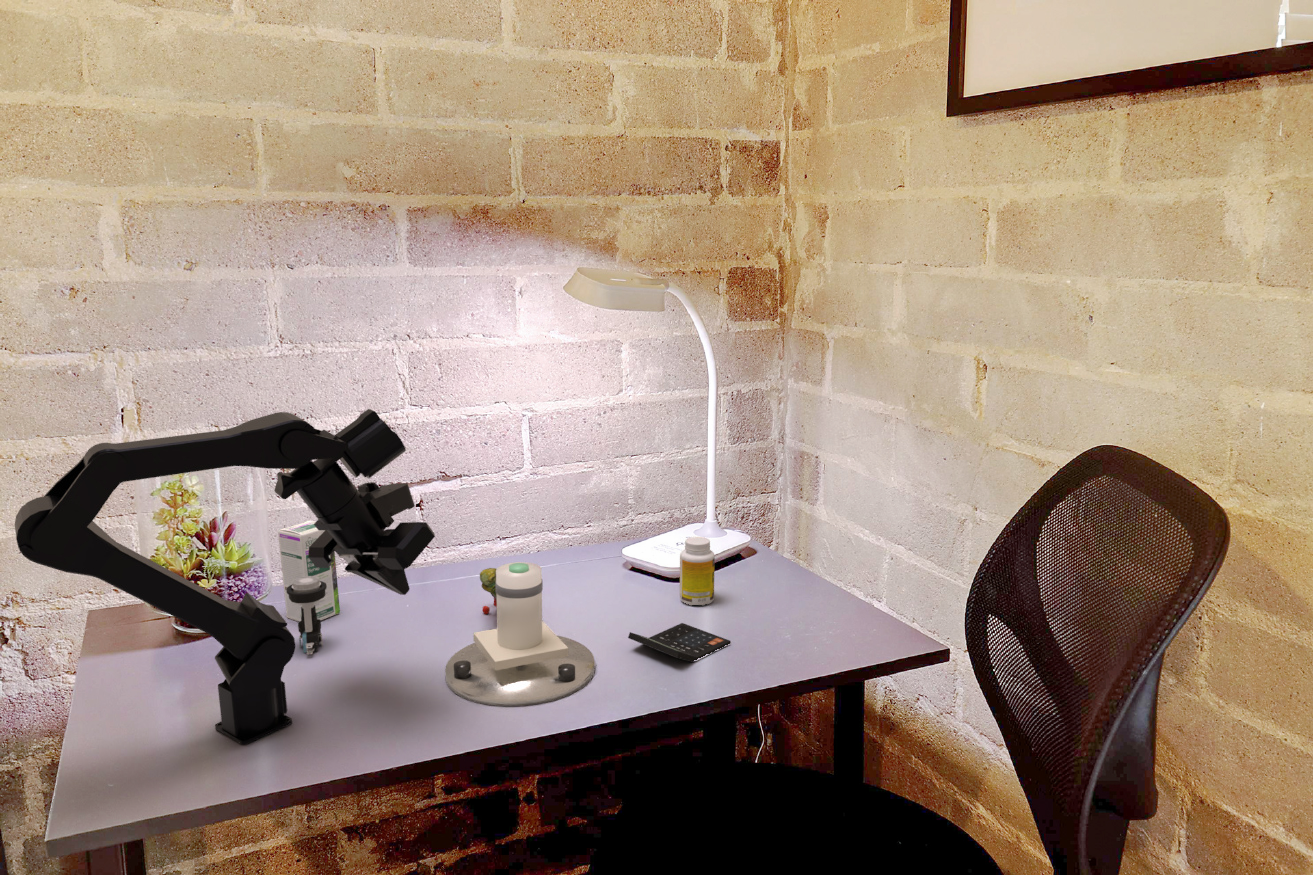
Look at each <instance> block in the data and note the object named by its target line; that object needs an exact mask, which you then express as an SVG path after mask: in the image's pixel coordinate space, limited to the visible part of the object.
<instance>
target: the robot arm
mask: <svg viewBox="0 0 1313 875" xmlns="http://www.w3.org/2000/svg"><path fill="white" fill-rule="evenodd" d="M406 451H407V450H406V446H405V444H404V442H403V441H402V439H401V438H400V437H399V435H398V433H397V432H395V431H393V430H392V428H390V426H389V425H388V424H387V423H386V422H385V421H384V420H383V419H382V418H380V416H379V415H378V413H377V412H376V411H375V410H373V409H371V408H367V409H365V411H364V412H362V413H361V414H359V416H357V418H355V420H354V421H352V422H351V423H349V424H348V425H347V426H345V427H344V428H343V429H341V430H340V431H338V432H337V433H336V434H332V433H331V432H329V431H328V430H326V429H317V428H315V427H314V426H313V425H312V424H310V423H309V422H308V421H306V420H304V419H302V417H300V416H297V415H296V414H293V413H291V412H288V411H287V412H286V411H279V412H274V413H271V414H267V415H263V416H261V417H257V418H253V419H250V420H248V421H246V422H243V423H241V424H239V425H235V426H234V427H231V428H230V427H229V428H227V429H223V430H215V431H206V432H205V431H204V432H200V433H191V434H182V435H173V436H164V437H156V438H149V439H141V440H134V441H125V442H118V443H117V442H116V443H113V442H112V443H111V442H101V443H96V444H95V445H93V446H91V447H90V448H88V450H87V451H86V452H85V454H84V456H83V457H82V458H81V459H80V460H79V461H78V462H77V463H76V464H75V465H74V466H73V467H72V468H70V470H68V471H67V472H66V473H65V474H64V475H62V477H60V478H59V479H58V480H57V481H56V482H55V483H54V485H53V486H51V487H50V489H49V490H48V491H47V492H46V493H45V494H44V495H43V496H40V497H35V498H33V499H31V500H29V501H27V502H26V503H25V504H24V505H23V506H22V507H20V509H19V510H18V512H17V514H16V515H15V519H14V520H15V521H14V531H15V538H16V539H15V540H16V545H17V548H18V550H19V552H20V553H21V554H22V556H23V557H25V558H26V559H27V560H28V561H30V562H33V563H35V564H38V565H40V566H41V565H42V566H44V567H47V568H51V569H53V570H58V571H60V572H64V573H69V574H74V575H81V576H87V577H93V578H96V579H99V580H101V581H103V582H105V583H107V584H109V585H110V586H112V587H115V588H116V589H119V590H121V591H122V592H125V593H126V594H129V595H131V596H132V597H135V598H137V599H139V600H140V601H143V602H145V603H146V604H148V605H150V606H153V607H154V608H156V609H158V610H160V611H162V612H164V613H166V614H168V615H170V616H172V617H174V618H175V619H178V620H180V621H182V622H184V623H187V624H188V625H190V626H192V627H194V628H196V629H197V630H200V631H202V632H203V633H205V634H208V635H210V637H212V638H214V639H215V640H216V642H218V643H219V644H220V645H221V646H222V648H221V649H220V650H219V651H218V652H217V653H216V655H215V656H214V660H215V662H216V664H217V665H218V667H219V670H220V671H221V673H222V674H223V677H224V678H225V679H224V681H223V682H220V683H219V684H217V692H218V699H219V700H218V703H219V708H220V709H219V710H220V720H221V721H219V722H217V723H215V724H214V729H215V730H217V731H218V732H220V733H222V734H223V735H225V736H227V738H230V739H232V740H233V741H235V742H237V743H239V744H240V745H247V744H249V743H251V742H254V741H256V740H258V739H261V738H263V737H265V736H267V735H269V734H272V733H274V732H276V731H278V730H280V729H282V728H286V727H287V726H289V725H292V723H293V718H291V717H290V716H288V715H286V714H287V712H288V705H287V704H288V702H287V695H286V694H287V693H286V682H284V681H282V676H283V672H284V669H285V666H286V665H287V664H288V663H289V662H291V660H292V658H293V656H294V654H295V650H296V642H295V641H296V640H295V637H294V636H293V634H292V633H291V631H290V629H289V628H288V627H287V626H288V622H287V621H286V620H285V619H284V617H283V616H282V615H281V614H280V612H279V611H278V609H276V607H275V606H274V605H270V604H265V603H262V602H260V600H258V599H257V598H255V597H254V596H253V595H251V594H250V593H249V592H246V593H245V594H244V596H243V598H242V600H241V601H235V600H228V599H225V598H222V597H220V596H219V595H217V594H215V593H214V592H211V591H209V590H207V589H206V588H204V587H202V586H201V585H200V586H199V585H198V584H197V583H194V582H193V581H191V580H189V579H186V578H185V577H183V576H181V575H179V574H178V573H176V572H174V571H171V570H170V569H169V568H166V567H164V566H163V565H160V564H158V563H157V562H156V561H153V560H151V559H150V558H147V557H146V556H144V555H142V554H140V553H138V552H137V551H135V550H132V549H130V548H129V547H127V546H125V545H123V544H122V543H119V542H117V541H116V540H115V539H113V537H111V536H110V535H109V533H106V531H105V530H103V529H102V528H101V527H100V526H99V525H98V524H96V522H95V521H94V520H95V518H96V517H97V515H98V514H99V512H100V511H101V510H102V509H103V507H104V506H105V503H106V502H107V501H108V499H109V498H110V496H112V494H113V492H115V490H116V489H117V488H118V487H119V486H120V484H122V483H126V482H133V481H139V480H146V479H153V478H160V477H167V476H168V477H169V476H175V475H181V474H187V473H195V472H202V471H210V470H214V469H223V468H231V467H248V468H249V467H250V468H258V469H259V468H261V469H268V470H269V469H270V470H271V469H280V470H282V469H283V470H289V469H290V470H291V471H290V472H289V471H288V472H281V471H278V472H277V473H276V477H277V480H276V484H275V487H274V489H273V490H274V493H275V494H276V495H278V496H279V498H281V499H283V500H286V499H288V498H290V497H291V496H292V495H294V494H295V493H297V494H298V495H299V497H300V498H301V499H302V500H303V502H304V503H305V505H307V507H308V508H309V509H310V511H311V512H312V514H313V515H315V517H316V518H317V520H316V522H315V524H314V525H315V527H316V528H317V529H318V530H325V531H324V532H323V533H322V534H321V535H320V536H319V537H318V538H317V540H316V541H315V542H314V543H313V544H312V545H311V546H310V547H309V555H308V558H309V559H310V560H311V561H312V563H313V564H314V565H315V566H316V567H317V568H329V567H330V566H331V559H330V558H329V557H328V556H329V555H330V554H331V553H332V552H333V551H335V554H336V555H338V557H339V558H340V559H343V560H344V561H345V562H346V566H345V567H344V571H346V573H351V574H354V575H356V576H359V577H361V578H364V579H366V580H368V581H370V582H372V583H375V584H377V585H379V586H381V587H384V588H385V589H387V590H390V591H392V592H394V593H397V594H398V595H400V596H401V595H402V596H403V595H404V596H405V595H406V594H408V593H409V592H410V585H409V582H408V578H407V575H406V571H405V570H406V569H407V568H409V567H411V566H412V565H413V563H414V562H415V561H416V559H418V557H419V556H420V555H421V554H422V553H423V551H424V550H425V549H426V548H427V546H428V545H429V544H430V543H431V542H432V541H433V539H435V538H436V535H435V532H434V531H433V529H432V528H431V527H430V526H429V524H428V522H420V521H418V522H417V521H415V522H409V521H407V522H406V521H405V522H400V523H398V525H397V526H396V527H395V528H390V527H391V525H393V523H394V522H395V519H394V518H393V516H396V515H398V514H400V513H402V512H404V511H406V510H411V509H413V508H415V502H414V499H413V496H412V493H411V490H410V486H409V483H407V482H405V483H400V482H399V483H389V484H385V485H380V486H379V485H378V484H377V483H376V482H375V481H373V482H364V483H362V484H360V485H358V487H356V486H355V485H354V483H353V482H352V481H351V479H350V478H349V476H348V475H347V474H346V472H345V470H344V469H343V468H342V467H341V466H340V465H339V463H338V461H340V462H341V464H343V466H344V467H345V468H346V469H347V470H348V472H349V473H350V474H351V475H352V476H353V477H355V478H359V477H360V476H362V477H364V478H367V479H371V478H372V477H373V476H375V475H376V474H377V473H378V472H380V471H381V470H383V469H384V468H386V467H387V466H388V465H389V464H391V463H392V462H393V461H394V460H396V459H397V458H398V457H400V456H401V455H402V454H403V453H406ZM313 460H314V461H313Z"/></svg>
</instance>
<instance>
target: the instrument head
mask: <svg viewBox="0 0 1313 875" xmlns="http://www.w3.org/2000/svg"><path fill="white" fill-rule="evenodd" d="M495 584H496V595H497V607H496V628H494V629H487V630H482V631H477V632H473V643H476V645H477V646H478V648H479V649H480V650H481V652H482V653H483V654H484V656H485V657H486V658H487V660H488V661H489V663H490V664H491V665H492V667H493V668H494V669H495V671H496V670H501V669H506V668H511V667H516V666H521V665H526V664H531V663H537V662H542V661H547V660H552V659H557V658H562V657H567V656H568V647H567V646H566V645H565V644H564V643H563V642H562V641H561V640H560V639H559V638H558V637H557V636H558V635H557V634H556V633H555V632H554V631H553V630H552V629H551V627H549V626H548V624H546V623H545V621H544V620H543V587H544V586H543V574H542V567H541V566H540V565H539V564H536V563H532V562H526V561H525V562H524V561H518V562H516V561H515V562H510V563H506V564H505V563H504V564H502V565H500V566H498V567H497V568H496V582H495Z"/></svg>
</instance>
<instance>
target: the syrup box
mask: <svg viewBox="0 0 1313 875" xmlns="http://www.w3.org/2000/svg"><path fill="white" fill-rule="evenodd" d="M316 521H317V520H316ZM316 521H315V520H310V519H309V520H307V521H305V522H301V523H299V524H295V525H292V526H289V527H288V526H287V527H285V528H281V529H279V530H277V536H278V545H279V554H280V565H281V572H282V582H283V592H284V601H285V602H284V603H285V611H286V614H285V615H286V617H287V619H290V620H292V621H295V622H298V621H299V622H300V621H301V616H302V613H301V607H302V605H299V604H296V603H294V602H291V600H290V599H289V594H287V590H286V589H287V587H289V586H290V585H292V584H293V581H294V580H295V579H297V578H300V577H304V576H315V577H318V578H319V581H322V582H325V583H326V586H327V588H326V589H325V596H324V598H322V599H320V600H319V601H318V602H316V603H314V605H315V609H316V613H317V619H320V620H321V621H323V620H325V619H328V618H330V617H332V616H335V615H339V614H340V613H341V607H340V598H339V587H338V575H337V563H336V552H335V551H333V552H332V553H331V554H330V555H329V556H328V557H329V558H330V559H331V566H330V567H329V568H317V567H316V566H315V565H314V564H313V563H312V561H311V560H310V559H309V558H308V555H309V547H310V546H311V545H312V544H313V543H314V542H315V541H316V540H317V538H318V537H319V536H320V535H321V534H322V533H323V532H324V531H325V530H318V529H317V528H316V527H315V525H314V524H315V522H316ZM299 622H298V623H299Z"/></svg>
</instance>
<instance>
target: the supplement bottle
mask: <svg viewBox="0 0 1313 875" xmlns="http://www.w3.org/2000/svg"><path fill="white" fill-rule="evenodd" d="M715 560H716V559H715V552H714V551H713V550H712V549H711V541H710V539H709V538H707V537H705V536H704V537H703V536H691V537H687V538H686V539H685V542H684V549H683V550H682V551H681V552H680V554H679V599H680V601H681V602H682V603H683V602H684V604H685V603H686V605H688V604H689V605H688V606H692V605H702V606H706V605H705V604H707V605H709V604H711V603H713V601H714V599H715Z"/></svg>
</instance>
